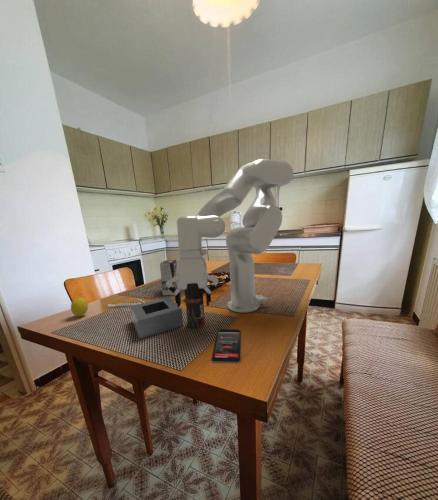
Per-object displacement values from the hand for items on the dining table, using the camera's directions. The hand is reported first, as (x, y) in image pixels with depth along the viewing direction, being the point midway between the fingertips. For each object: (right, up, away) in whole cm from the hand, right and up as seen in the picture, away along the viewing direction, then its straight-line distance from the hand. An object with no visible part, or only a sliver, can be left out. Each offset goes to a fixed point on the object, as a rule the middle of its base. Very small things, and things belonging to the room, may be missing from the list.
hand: (193, 304), depth 68 cm
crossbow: (-32, -7, +21) cm, 39 cm away
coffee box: (-16, -3, +36) cm, 39 cm away
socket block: (-13, -7, +3) cm, 15 cm away
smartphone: (+11, -9, -12) cm, 18 cm away
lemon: (-46, -8, +12) cm, 49 cm away
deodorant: (+1, -7, +1) cm, 7 cm away
